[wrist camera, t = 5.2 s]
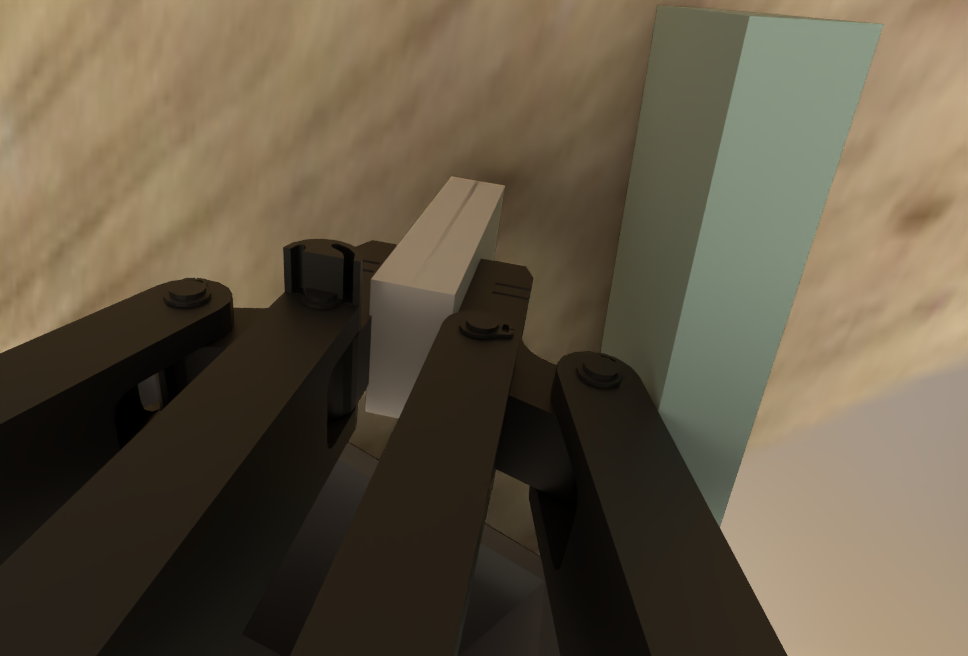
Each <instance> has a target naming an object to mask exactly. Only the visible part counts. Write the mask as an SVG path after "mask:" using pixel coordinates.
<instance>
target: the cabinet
mask: <svg viewBox="0 0 968 656" xmlns="http://www.w3.org/2000/svg"><path fill="white" fill-rule="evenodd" d="M138 389H139V395H140V400H141V404H142V405H143V407H145V406H148V405H151V404H153V403H154V402H156V401H157V400H159V399H158V393H157V386H156V380H155V375H153V376H151V377H149V378H148V379H146V380H144V381H142V382H141V383H139V384H138ZM378 462H379V460H377V459H375V458H374V457H372V456H370V455H369V454H367V453H365V452H364V451H362V450H360V449H359V448H357V447H355V446H354V445H352V444H350V443H349V442H348V443H347V444H346V446H345V448H344V450H343V452H342V454H341V455H340V457H339V459H338V461H337V463H336V464H335V466H334V468H333V470H332V472H331V474H330V475H329V477H328V479H327V481H326V483H325V484H324V486H323V488H322V490H321V492H320V493H319V495H318V497H317V499H316V501H315V503H314V504H313V506H312V508H311V510H310V512H309V513H308V515H307V517H306V519H305V521H304V523H303V524H302V526H301V528H300V530H299V532H298V533H297V535H296V537H295V539H294V541H293V542H292V544H291V546H290V548H289V550H288V552H287V553H286V555H285V557H284V559H283V561H282V562H281V564H280V566H279V568H278V570H277V572H276V573H275V575H274V577H273V579H272V581H271V582H270V584H269V586H268V588H267V590H266V591H265V593H264V595H263V597H262V599H261V601H260V602H259V604H258V606H257V608H256V610H255V611H254V613H253V615H252V617H251V619H250V621H249V622H248V624H247V626H246V628H245V630H244V631H243V633H242V635H241V637H240V639H239V640H238V642H237V644H236V646H235V648H234V650H233V651H232V653H231V655H230V656H290V655H291V653H292V650H293V648H294V646H295V644H296V642H297V640H298V637H299V635H300V633H301V631H302V629H303V626H304V624H305V622H306V620H307V618H308V615H309V613H310V611H311V609H312V607H313V605H314V602H315V600H316V598H317V596H318V594H319V591H320V589H321V587H322V585H323V583H324V580H325V578H326V576H327V574H328V572H329V570H330V567H331V565H332V563H333V561H334V559H335V556H336V554H337V552H338V550H339V548H340V546H341V543H342V541H343V539H344V537H345V535H346V532H347V530H348V528H349V526H350V524H351V521H352V519H353V517H354V515H355V513H356V511H357V508H358V506H359V504H360V502H361V500H362V497H363V495H364V493H365V491H366V489H367V486H368V484H369V482H370V480H371V478H372V476H373V473H374V471H375V469H376V467H377V465H378ZM458 656H560V652H559V647H558V642H557V637H556V632H555V626H554V621H553V616H552V611H551V606H550V601H549V596H548V591H547V586H546V581H545V576H544V571H543V566H542V561H541V557H540V556H538V555H536V554H535V553H533V552H531V551H529V550H528V549H526V548H524V547H523V546H521V545H519V544H518V543H516V542H514V541H513V540H511V539H509V538H508V537H506V536H504V535H503V534H501V533H499V532H498V531H496V530H494V529H493V528H491V527H489V526H488V525H486V524H484V529H483V534H482V539H481V544H480V549H479V553H478V558H477V563H476V568H475V573H474V578H473V583H472V588H471V593H470V598H469V602H468V607H467V612H466V617H465V622H464V627H463V632H462V637H461V642H460V646H459V651H458Z"/></svg>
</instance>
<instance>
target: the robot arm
mask: <svg viewBox="0 0 968 656" xmlns="http://www.w3.org/2000/svg"><path fill="white" fill-rule="evenodd" d="M504 190H505V185H499V184H493V183H487V182H482V181H476V180H470V179H465V178H459V177H453V176H451V177H450V179H449V180H448V181H447V182H446V184H445V185H444V186H443V188H442V189H441V190H440V191H439V193H438V194H437V195H436V197H435V198H434V199H433V200H432V202H431V203H430V204H429V206H428V207H427V208H426V209H425V211H424V212H423V213H422V214H421V216H420V217H419V218H418V220H417V221H416V222H415V223H414V225H413V226H412V227H411V229H410V230H409V231H408V232H407V234H406V235H405V236H404V237H403V239H402V240H401V241H400V243H399V244H398V245H395V244H390V243H384V242H379V241H373V240H372V241H369V242H367V243H364V244H362V245H359V246H357V247H354V246H352V245H350V244H347V243H344V242H340V241H336V240H327V239H309V240H302V241H298V242H293V243H291V244H289V245H287V246H285V247H283V252H284V282H285V292H284V293H283V294H282V295H281V296H280V297H279V298H278V299H277V300H276V301H275V302H274V303H273V304H272V305H271V306H270V307H269V308H233V297H232V293H231V291H230V290H229V288H228V287H226V286H224V285H222V284H220V283H219V282H214V281H209V280H206V279H201V278H197V279H195V278H185V279H183V280H177V281H171V282H167V283H164V284H161V285H158V286H155V287H153V288H151V289H148V290H146V291H144V292H141V293H139V294H137V295H134V296H132V297H130V298H127V299H125V300H123V301H121V302H118V303H116V304H114V305H111V306H109V307H107V308H104V309H102V310H100V311H97V312H95V313H93V314H90V315H88V316H86V317H84V318H81V319H79V320H77V321H74V322H72V323H70V324H67V325H65V326H63V327H60V328H58V329H56V330H53V331H51V332H49V333H47V334H44V335H42V336H40V337H37V338H35V339H33V340H30V341H28V342H26V343H23V344H21V345H19V346H16V347H14V348H12V349H10V350H7V351H5V352H3V353H0V656H230V655H231V653H232V651H233V650H234V648H235V646H236V644H237V642H238V640H239V639H240V637H241V635H242V633H243V631H244V630H245V628H246V626H247V624H248V622H249V621H250V619H251V617H252V615H253V613H254V611H255V610H256V608H257V606H258V604H259V602H260V601H261V599H262V597H263V595H264V593H265V591H266V590H267V588H268V586H269V584H270V582H271V581H272V579H273V577H274V575H275V573H276V572H277V570H278V568H279V566H280V564H281V562H282V561H283V559H284V557H285V555H286V553H287V552H288V550H289V548H290V546H291V544H292V542H293V541H294V539H295V537H296V535H297V533H298V532H299V530H300V528H301V526H302V524H303V523H304V521H305V519H306V517H307V515H308V513H309V512H310V510H311V508H312V506H313V504H314V503H315V501H316V499H317V497H318V495H319V493H320V492H321V490H322V488H323V486H324V484H325V483H326V481H327V479H328V477H329V475H330V474H331V472H332V470H333V468H334V466H335V464H336V463H337V461H338V459H339V457H340V455H341V454H342V452H343V450H344V448H345V446H346V444H347V443H348V441H349V439H350V437H351V435H352V434H353V432H354V430H355V428H356V423H357V411H358V402H359V400H360V398H361V397H362V395H363V393H364V391H365V390H366V404H365V412H369V413H374V414H379V415H384V416H389V417H394V418H398V421H397V423H396V425H395V427H394V430H393V432H392V434H391V436H390V438H389V441H388V443H387V445H386V447H385V449H384V452H383V454H382V456H381V458H380V460H379V462H378V465H377V467H376V469H375V471H374V473H373V476H372V478H371V480H370V482H369V484H368V486H367V489H366V491H365V493H364V495H363V497H362V500H361V502H360V504H359V506H358V508H357V511H356V513H355V515H354V517H353V519H352V521H351V524H350V526H349V528H348V530H347V532H346V535H345V537H344V539H343V541H342V543H341V546H340V548H339V550H338V552H337V554H336V556H335V559H334V561H333V563H332V565H331V567H330V570H329V572H328V574H327V576H326V578H325V580H324V583H323V585H322V587H321V589H320V591H319V594H318V596H317V598H316V600H315V602H314V605H313V607H312V609H311V611H310V613H309V615H308V618H307V620H306V622H305V624H304V626H303V629H302V631H301V633H300V635H299V637H298V640H297V642H296V644H295V646H294V648H293V650H292V653H291V655H290V656H458V651H459V646H460V642H461V637H462V632H463V627H464V622H465V617H466V612H467V607H468V602H469V598H470V593H471V588H472V583H473V578H474V573H475V568H476V563H477V558H478V553H479V549H480V544H481V539H482V534H483V529H484V524H485V519H486V514H487V509H488V505H489V500H490V495H491V490H492V488H493V482H494V477H495V472H496V469H497V470H499V471H501V472H503V473H505V474H507V475H509V476H511V477H513V478H516V479H518V480H520V481H522V482H524V483H526V484H528V485H530V488H529V501H530V506H531V511H532V516H533V521H534V526H535V531H536V536H537V541H538V546H539V551H540V556H541V561H542V566H543V571H544V576H545V581H546V586H547V591H548V596H549V601H550V606H551V611H552V616H553V621H554V626H555V632H556V637H557V642H558V647H559V652H560V656H787V654H786V652H785V650H784V648H783V646H782V644H781V643H780V641H779V639H778V637H777V635H776V633H775V631H774V629H773V627H772V626H771V624H770V622H769V620H768V618H767V616H766V614H765V612H764V610H763V609H762V607H761V605H760V603H759V601H758V599H757V597H756V595H755V593H754V592H753V590H752V588H751V586H750V584H749V582H748V581H747V578H746V576H745V575H744V573H743V571H742V569H741V567H740V565H739V563H738V561H737V559H736V558H735V556H734V554H733V552H732V550H731V548H730V546H729V544H728V543H727V541H726V539H725V537H724V535H723V533H722V531H721V529H720V527H719V525H718V524H717V522H716V520H715V518H714V516H713V514H712V512H711V510H710V508H709V507H708V505H707V503H706V501H705V499H704V497H703V495H702V493H701V491H700V490H699V488H698V486H697V484H696V482H695V480H694V478H693V476H692V474H691V473H690V471H689V469H688V467H687V465H686V463H685V461H684V459H683V457H682V456H681V454H680V452H679V450H678V448H677V446H676V444H675V442H674V440H673V439H672V437H671V435H670V433H669V431H668V429H667V427H666V425H665V423H664V422H663V420H662V418H661V416H660V414H659V412H658V410H657V408H656V406H655V405H654V403H653V401H652V399H651V397H650V395H649V393H648V391H647V389H646V388H645V386H644V384H643V382H642V380H641V378H640V376H639V375H638V374H637V373H636V372H635V371H634V369H633V368H632V367H630V366H629V365H627V364H626V363H624V362H623V361H621V360H619V359H618V358H615V357H613V356H609V355H608V354H604V353H596V352H590V351H587V352H574V353H571V354H568V355H565V356H563V357H562V358H561V359H560V361H559V362H558V363H557V365H555V364H552V363H550V362H548V361H546V360H544V359H541V358H539V357H538V356H536V355H535V354H534V353H532V352H531V351H530V350H529V349H528V348H527V347H526V346H525V345H524V343H523V341H522V335H523V330H524V325H525V319H526V314H527V309H528V303H529V298H530V292H531V287H532V282H533V277H532V275H531V274H530V272H529V271H528V269H527V268H526V267H525V266H519V265H514V264H508V263H503V262H498V261H494V257H495V251H496V244H497V237H498V231H499V224H500V217H501V210H502V204H503V197H504ZM153 375H155V380H156V386H157V393H158V399H159V400H157V401H156V402H154V403H153V404H151V405H148V406H145V407H143V405H142V404H141V400H140V395H139V389H138V384H139V383H141V382H142V381H144V380H146V379H148V378H149V377H151V376H153Z"/></svg>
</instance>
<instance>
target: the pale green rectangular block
mask: <svg viewBox="0 0 968 656" xmlns="http://www.w3.org/2000/svg"><path fill="white" fill-rule="evenodd" d="M883 25H884V24H877V23H866V22H855V21H844V20H833V19H822V18H810V17H799V16H788V15H777V14H766V13H755V12H744V11H733V10H722V9H711V8H696V7H679V6H662V5H658V8H657V14H656V20H655V26H654V32H653V38H652V44H651V50H650V56H649V62H648V68H647V74H646V80H645V86H644V92H643V98H642V104H641V110H640V116H639V122H638V128H637V134H636V140H635V147H634V153H633V159H632V165H631V171H630V177H629V183H628V189H627V195H626V201H625V207H624V213H623V219H622V225H621V231H620V237H619V243H618V249H617V255H616V261H615V267H614V273H613V279H612V285H611V291H610V297H609V303H608V309H607V315H606V321H605V328H604V334H603V340H602V346H601V352H600V353H604V354H608V355H609V356H613V357H615V358H618V359H619V360H621V361H623V362H624V363H626V364H627V365H629V366H630V367H632V368H633V369H634V371H635V372H636V373H637V374H638V375H639V376H640V378H641V380H642V382H643V384H644V386H645V388H646V389H647V391H648V393H649V395H650V397H651V399H652V401H653V403H654V405H655V406H656V408H657V410H658V412H659V414H660V416H661V418H662V420H663V422H664V423H665V425H666V427H667V429H668V431H669V433H670V435H671V437H672V439H673V440H674V442H675V444H676V446H677V448H678V450H679V452H680V454H681V456H682V457H683V459H684V461H685V463H686V465H687V467H688V469H689V471H690V473H691V474H692V476H693V478H694V480H695V482H696V484H697V486H698V488H699V490H700V491H701V493H702V495H703V497H704V499H705V501H706V503H707V505H708V507H709V508H710V510H711V512H712V514H713V516H714V518H715V520H716V522H717V524H718V525H719V527H720V525H721V522H722V519H723V516H724V513H725V510H726V507H727V504H728V500H729V497H730V494H731V491H732V488H733V485H734V482H735V479H736V476H737V473H738V470H739V467H740V464H741V461H742V457H743V454H744V451H745V448H746V445H747V442H748V439H749V436H750V433H751V430H752V427H753V424H754V421H755V418H756V415H757V411H758V408H759V405H760V402H761V399H762V396H763V393H764V390H765V387H766V384H767V381H768V378H769V375H770V372H771V368H772V365H773V362H774V359H775V356H776V353H777V350H778V347H779V344H780V341H781V338H782V335H783V332H784V329H785V325H786V322H787V319H788V316H789V313H790V310H791V307H792V304H793V301H794V298H795V295H796V292H797V289H798V286H799V283H800V279H801V276H802V273H803V270H804V267H805V264H806V261H807V258H808V255H809V252H810V249H811V246H812V243H813V240H814V236H815V233H816V230H817V227H818V224H819V221H820V218H821V215H822V212H823V209H824V206H825V203H826V200H827V197H828V193H829V190H830V187H831V184H832V181H833V178H834V175H835V172H836V169H837V166H838V163H839V160H840V157H841V154H842V150H843V147H844V144H845V141H846V138H847V135H848V132H849V129H850V126H851V123H852V120H853V117H854V114H855V111H856V108H857V104H858V101H859V98H860V95H861V92H862V89H863V86H864V83H865V80H866V77H867V74H868V71H869V68H870V65H871V61H872V58H873V55H874V52H875V49H876V46H877V43H878V40H879V37H880V34H881V31H882V28H883Z"/></svg>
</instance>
